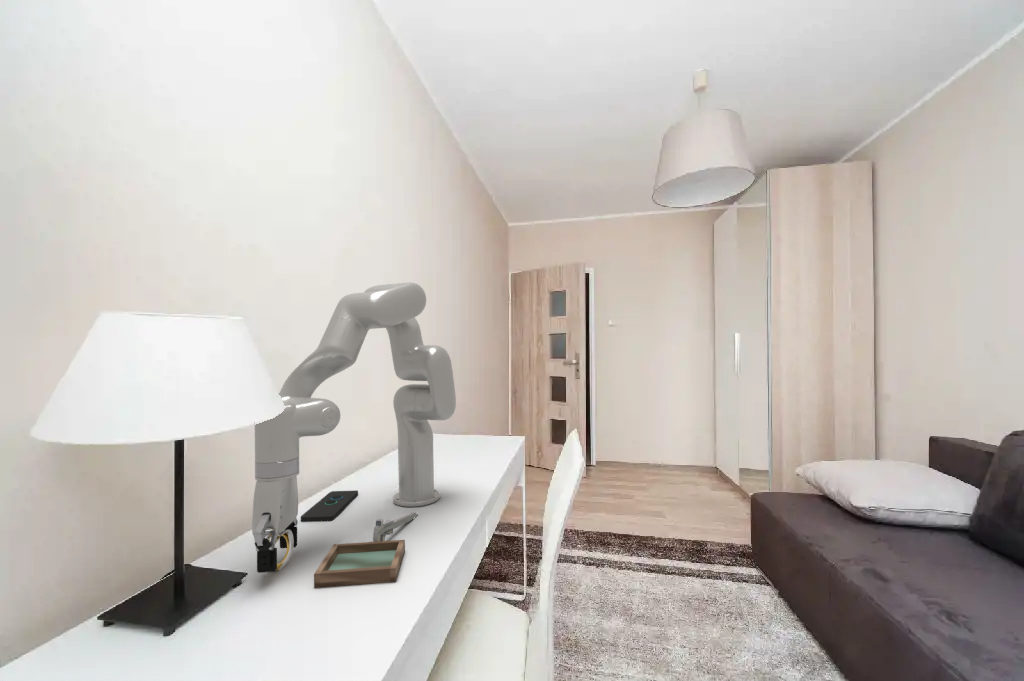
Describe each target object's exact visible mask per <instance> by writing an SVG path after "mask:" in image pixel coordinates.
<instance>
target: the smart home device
mask: <svg viewBox="0 0 1024 681" xmlns="http://www.w3.org/2000/svg"><path fill="white" fill-rule="evenodd" d="M358 496H359V490H332V491H330V492H328V493H327V494H326V495H325V496H323V497H322V498H321V499H320V500H318V501H317V502H316V503H315V504H313V506H312V507H310V508H309V509H308V510H306V511H305V512H304V513H303V514H302V515H301V516H300V523H312V522H314V523H315V522H319V523H320V522H333V521H334V520H336V519H337V517H338V516H339V515H340V514H341V513H342V512H343V511H344V510H345V509H347V507H348V506H350V504H351V503H352V502H353V501H354V500H355V499H356V498H357V497H358Z"/></svg>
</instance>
